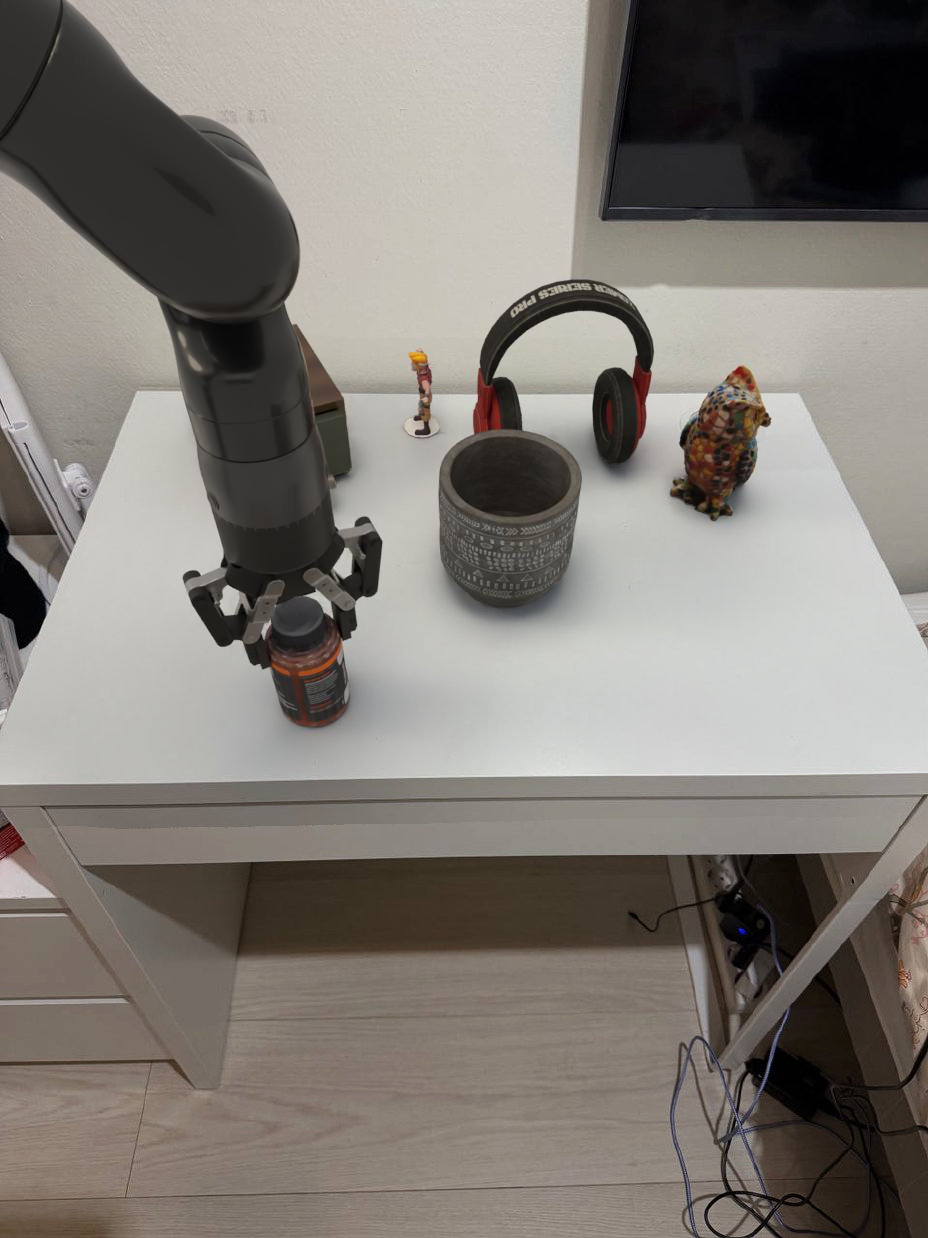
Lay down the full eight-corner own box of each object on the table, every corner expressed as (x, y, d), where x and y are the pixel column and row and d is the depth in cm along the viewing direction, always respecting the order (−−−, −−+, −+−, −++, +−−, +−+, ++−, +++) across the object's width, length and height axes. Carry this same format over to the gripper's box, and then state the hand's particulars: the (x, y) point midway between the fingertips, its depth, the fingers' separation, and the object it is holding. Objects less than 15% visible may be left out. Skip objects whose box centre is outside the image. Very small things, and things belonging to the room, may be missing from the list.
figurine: (769, 511, 87) (818, 389, 76) (693, 532, 85) (731, 409, 74) (725, 460, 92) (765, 338, 81) (652, 478, 90) (682, 355, 79)
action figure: (442, 466, 91) (441, 393, 84) (415, 467, 91) (412, 394, 84) (434, 398, 99) (432, 326, 91) (409, 400, 98) (406, 327, 91)
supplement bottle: (365, 691, 72) (353, 606, 64) (321, 742, 69) (303, 659, 60) (310, 660, 74) (292, 574, 66) (265, 708, 71) (240, 624, 62)
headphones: (482, 496, 88) (490, 323, 73) (467, 436, 94) (471, 265, 79) (645, 481, 90) (685, 309, 75) (619, 422, 96) (652, 252, 81)
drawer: (364, 493, 87) (358, 438, 81) (254, 527, 84) (240, 471, 78) (308, 399, 97) (300, 344, 91) (208, 425, 93) (193, 370, 88)
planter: (550, 638, 76) (565, 537, 66) (422, 606, 78) (418, 505, 69) (578, 545, 84) (595, 443, 74) (461, 519, 86) (462, 416, 76)
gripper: (354, 419, 57) (371, 584, 70) (139, 478, 53) (200, 642, 66) (397, 487, 53) (407, 649, 66) (167, 557, 49) (226, 716, 62)
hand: (303, 645), depth 66 cm, fingers closed on supplement bottle, 6 cm apart
